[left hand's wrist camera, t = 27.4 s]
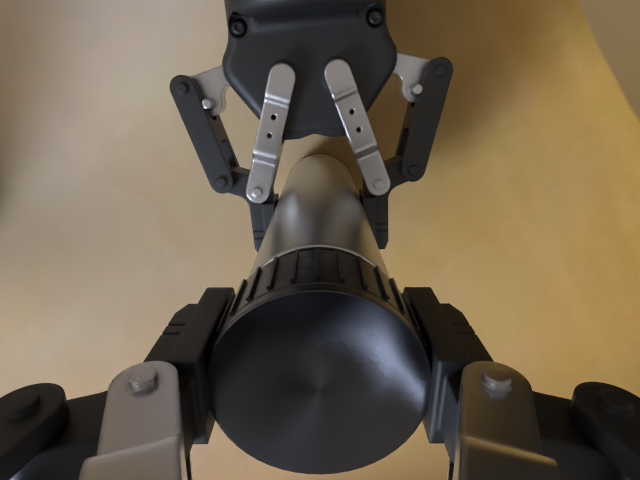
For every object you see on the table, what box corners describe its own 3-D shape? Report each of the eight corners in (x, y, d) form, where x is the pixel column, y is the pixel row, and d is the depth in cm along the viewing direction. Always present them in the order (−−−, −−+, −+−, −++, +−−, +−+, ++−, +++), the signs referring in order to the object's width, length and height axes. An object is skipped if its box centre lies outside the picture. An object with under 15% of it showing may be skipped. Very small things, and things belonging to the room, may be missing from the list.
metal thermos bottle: (324, 231, 30) (332, 463, 11) (273, 192, 29) (186, 375, 10) (366, 182, 28) (454, 349, 10) (314, 139, 27) (301, 235, 9)
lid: (277, 431, 12) (268, 502, 10) (188, 292, 11) (155, 342, 8) (439, 372, 11) (466, 436, 9) (370, 214, 10) (384, 247, 8)
